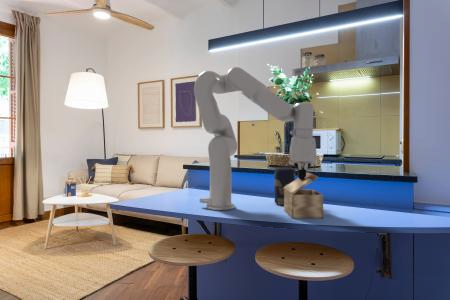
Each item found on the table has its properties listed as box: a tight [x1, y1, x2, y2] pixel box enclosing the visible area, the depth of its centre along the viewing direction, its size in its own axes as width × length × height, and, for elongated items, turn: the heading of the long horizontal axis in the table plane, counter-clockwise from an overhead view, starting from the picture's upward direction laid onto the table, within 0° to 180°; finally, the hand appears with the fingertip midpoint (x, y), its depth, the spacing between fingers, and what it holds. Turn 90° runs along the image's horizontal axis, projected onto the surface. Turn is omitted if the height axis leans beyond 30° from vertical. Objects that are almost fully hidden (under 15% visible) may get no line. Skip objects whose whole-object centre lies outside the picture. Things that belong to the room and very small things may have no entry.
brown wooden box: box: [283, 188, 324, 219], centre depth 131 cm, size 12×14×9 cm
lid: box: [283, 171, 319, 195], centre depth 131 cm, size 12×14×1 cm
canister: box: [274, 165, 296, 206], centre depth 151 cm, size 10×10×18 cm
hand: (301, 179), depth 131 cm, fingers closed
